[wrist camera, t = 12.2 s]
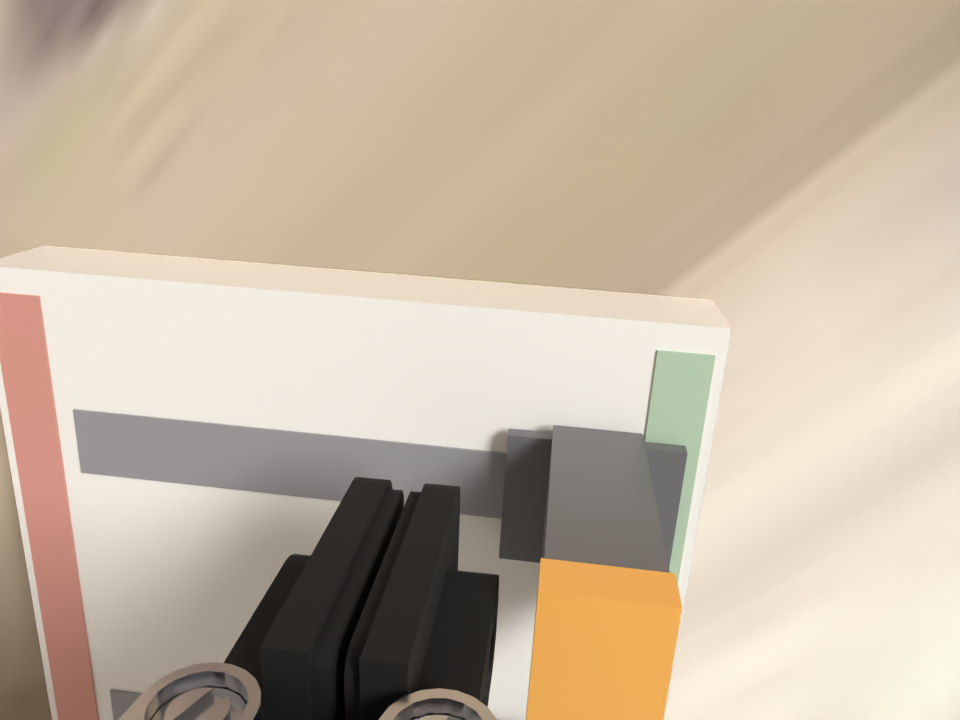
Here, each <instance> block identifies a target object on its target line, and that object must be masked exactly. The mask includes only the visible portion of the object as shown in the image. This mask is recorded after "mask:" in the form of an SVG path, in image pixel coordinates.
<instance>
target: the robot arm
mask: <svg viewBox="0 0 960 720" xmlns="http://www.w3.org/2000/svg"><path fill="white" fill-rule="evenodd" d="M459 524H460V486H450V485H439V484H428V483H425V484H424V486H423V489H422V491H421V492H415V491H410V493H409V496H408V498H407V501H406V503H405V506H404V494H403V491H402V490H395V489H392V482H391V480H386V479H375V478H364V477H355V478H354V479H353V481H352V483H351V485H350V486H349V488H348V490H347V492H346V493H345V495H344V497H343V499H342V501H341V502H340V504H339V506H338V508H337V510H336V511H335V513H334V515H333V517H332V518H331V520H330V522H329V524H328V526H327V527H326V529H325V531H324V533H323V535H322V536H321V538H320V540H319V542H318V543H317V545H316V547H315V549H314V551H313V552H312V554H311V555H301V554H292V555H290V556H289V557H288V558H287V560H286V561H285V562H284V564H283V566H282V567H281V569H280V571H279V572H278V574H277V575H276V577H275V579H274V580H273V582H272V584H271V585H270V587H269V589H268V590H267V592H266V594H265V595H264V597H263V599H262V600H261V602H260V603H259V605H258V607H257V608H256V610H255V612H254V613H253V615H252V617H251V618H250V620H249V622H248V623H247V625H246V627H245V628H244V630H243V631H242V633H241V635H240V636H239V638H238V640H237V641H236V643H235V645H234V646H233V648H232V650H231V651H230V653H229V654H228V656H227V658H226V659H225V661H224V663H217V662H211V663H202V664H194V665H191V666H188V667H185V668H181V669H178V670H175V671H173V672H172V673H170V674H168V675H166V676H164V677H162V678H160V679H158V680H157V681H156V682H155V683H154V684H152V685H151V686H150V687H149V688H148V689H147V690H145V691H144V692H143V693H142V694H141V695H140V696H139V697H138V698H137V700H136V701H135V702H134V703H133V704H132V705H131V706H130V707H129V708H128V709H127V710H126V711H125V712H124V714H123V715H122V716H121V717H120V718H119V719H118V720H497V719H496V718H495V716H494V715H493V713H492V712H491V711H490V709H489V708H488V701H489V693H490V686H491V678H492V670H493V661H494V652H495V641H496V629H497V613H498V596H499V575H496V574H486V573H477V572H467V571H458V552H459Z"/></svg>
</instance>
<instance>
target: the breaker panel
mask: <svg viewBox="0 0 960 720" xmlns="http://www.w3.org/2000/svg"><path fill="white" fill-rule="evenodd" d="M730 334H731V327H730V326H729V324H728V323H727V321H726V320H725V318H724V317H723V315H722V314H721V312H720V311H719V309H718V308H717V306H716V305H715V303H714V302H713V300H712V299H699V298H687V297H675V296H662V295H650V294H638V293H625V292H613V291H601V290H588V289H576V288H564V287H551V286H539V285H527V284H515V283H502V282H490V281H478V280H465V279H453V278H441V277H428V276H416V275H404V274H391V273H379V272H367V271H354V270H342V269H330V268H317V267H305V266H293V265H280V264H268V263H256V262H244V261H231V260H219V259H207V258H194V257H182V256H170V255H157V254H145V253H133V252H120V251H108V250H96V249H83V248H71V247H59V246H46V245H45V246H41V247H38V248H34V249H31V250H27V251H24V252H20V253H17V254H13V255H10V256H6V257H3V258H0V408H1V414H2V420H3V426H4V432H5V438H6V444H7V450H8V456H9V462H10V468H11V474H12V480H13V486H14V493H15V499H16V505H17V511H18V517H19V523H20V529H21V535H22V541H23V547H24V553H25V559H26V565H27V571H28V577H29V583H30V589H31V595H32V601H33V607H34V613H35V619H36V625H37V632H38V638H39V644H40V650H41V656H42V662H43V668H44V674H45V680H46V686H47V692H48V698H49V704H50V710H51V716H52V720H118V719H119V718H120V717H121V716H122V715H123V714H124V712H125V711H126V710H127V709H128V708H129V707H130V706H131V705H132V704H133V703H134V702H135V701H136V700H137V698H138V697H139V696H140V695H141V694H142V693H143V692H144V691H145V690H147V689H148V688H149V687H150V686H151V685H152V684H154V683H155V682H156V681H157V680H158V679H160V678H162V677H164V676H166V675H168V674H170V673H172V672H173V671H175V670H178V669H181V668H185V667H188V666H191V665H194V664H202V663H211V662H217V663H224V661H225V659H226V658H227V656H228V654H229V653H230V651H231V650H232V648H233V646H234V645H235V643H236V641H237V640H238V638H239V636H240V635H241V633H242V631H243V630H244V628H245V627H246V625H247V623H248V622H249V620H250V618H251V617H252V615H253V613H254V612H255V610H256V608H257V607H258V605H259V603H260V602H261V600H262V599H263V597H264V595H265V594H266V592H267V590H268V589H269V587H270V585H271V584H272V582H273V580H274V579H275V577H276V575H277V574H278V572H279V571H280V569H281V567H282V566H283V564H284V562H285V561H286V560H287V558H288V557H289V556H290V555H292V554H301V555H311V554H312V552H313V551H314V549H315V547H316V545H317V543H318V542H319V540H320V538H321V536H322V535H323V533H324V531H325V529H326V527H327V526H328V524H329V522H330V520H331V518H332V517H333V515H334V513H335V511H336V510H337V508H338V506H339V504H340V502H341V501H342V499H343V497H344V495H345V493H346V492H347V490H348V488H349V486H350V485H351V483H352V481H353V479H354V478H355V477H364V478H375V479H386V480H391V482H392V489H395V490H402V491H403V494H404V506H405V503H406V501H407V498H408V496H409V493H410V491H415V492H421V491H422V489H423V486H424V484H425V483H428V484H439V485H450V486H460V524H459V552H458V571H467V572H477V573H486V574H496V575H499V596H498V613H497V629H496V641H495V652H494V661H493V670H492V678H491V686H490V693H489V701H488V708H489V709H490V711H491V712H492V713H493V715H494V716H495V718H496V719H497V720H525V719H526V708H527V698H528V687H529V677H530V666H531V656H532V645H533V634H534V624H535V613H536V603H537V592H538V582H539V571H540V563H536V562H527V561H519V560H510V559H501V558H499V548H500V534H501V520H502V507H503V493H504V480H505V466H506V452H507V439H508V431H509V428H510V429H521V430H531V431H541V432H551V433H553V425H559V426H570V427H580V428H590V429H600V430H611V431H621V432H631V433H642V434H643V439H644V442H653V443H663V444H673V445H683V446H686V449H687V452H688V454H687V460H686V467H685V473H684V479H683V485H682V492H681V498H680V504H679V510H678V517H677V523H676V529H675V535H674V541H673V548H672V554H671V560H670V566H669V570H670V573H675V575H676V579H677V584H678V589H679V594H680V599H681V603H682V614H681V620H682V615H683V609H684V603H685V597H686V591H687V585H688V580H689V574H690V568H691V562H692V556H693V550H694V544H695V539H696V533H697V527H698V521H699V515H700V509H701V504H702V498H703V492H704V486H705V480H706V474H707V468H708V463H709V457H710V451H711V445H712V439H713V433H714V427H715V422H716V416H717V410H718V404H719V398H720V392H721V387H722V381H723V375H724V369H725V363H726V357H727V351H728V346H729V340H730ZM681 620H680V625H679V631H678V637H677V643H676V649H675V655H674V661H675V656H676V650H677V644H678V638H679V632H680V626H681ZM674 661H673V666H672V672H671V678H670V684H669V690H668V696H667V702H668V697H669V691H670V685H671V679H672V673H673V667H674ZM667 702H666V708H667ZM666 708H665V713H664V719H663V720H665V714H666Z"/></svg>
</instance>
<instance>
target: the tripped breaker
mask: <svg viewBox="0 0 960 720" xmlns="http://www.w3.org/2000/svg"><path fill="white" fill-rule="evenodd" d="M687 454H688V452H687V449H686V446H683V445H673V444H663V443H653V442H644V439H643V434H642V433H631V432H621V431H611V430H600V429H590V428H580V427H570V426H559V425H553V433H551V432H541V431H531V430H521V429H510V428H509V431H508V439H507V452H506V466H505V480H504V493H503V507H502V520H501V534H500V548H499V558H501V559H510V560H519V561H527V562H536V563H540V571H539V582H538V592H537V603H536V613H535V624H534V634H533V645H532V656H531V666H530V677H529V687H528V698H527V708H526V719H525V720H663V719H664V713H665V708H666V702H667V696H668V690H669V684H670V678H671V672H672V666H673V661H674V655H675V649H676V643H677V637H678V631H679V625H680V620H681V614H682V603H681V599H680V594H679V589H678V584H677V579H676V575H675V573H670V570H669V566H670V560H671V554H672V548H673V541H674V535H675V529H676V523H677V517H678V510H679V504H680V498H681V492H682V485H683V479H684V473H685V467H686V460H687Z"/></svg>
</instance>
